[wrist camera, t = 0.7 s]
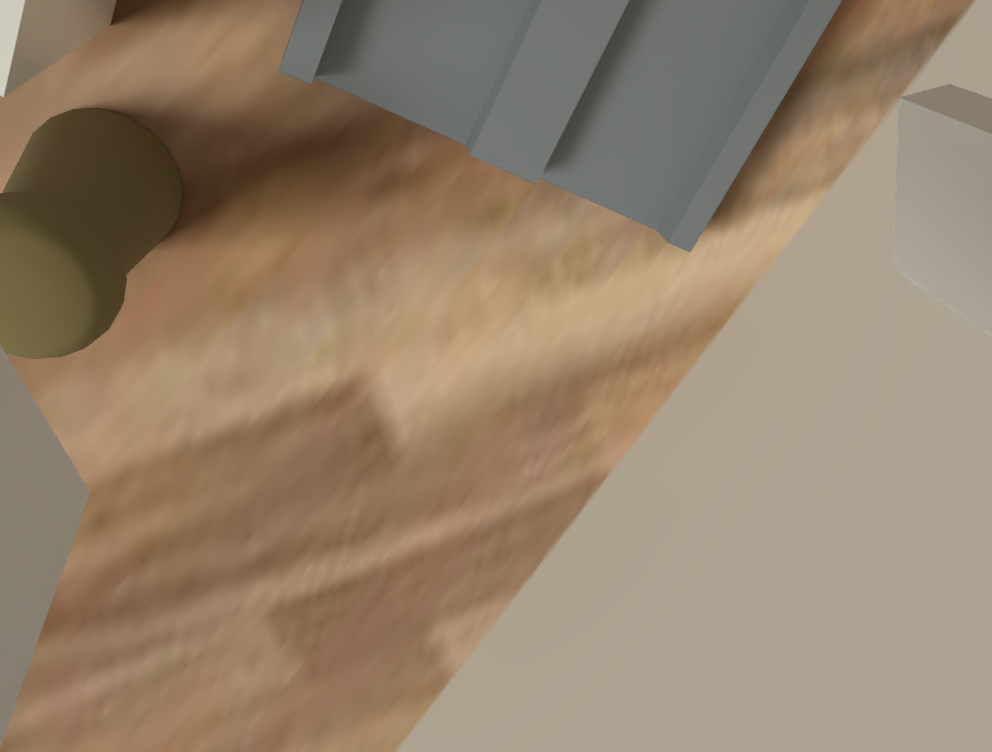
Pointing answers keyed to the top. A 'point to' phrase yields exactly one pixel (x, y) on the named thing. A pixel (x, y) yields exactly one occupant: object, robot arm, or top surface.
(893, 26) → the top surface
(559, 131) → the grey grooved stand
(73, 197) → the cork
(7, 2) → the clay block
